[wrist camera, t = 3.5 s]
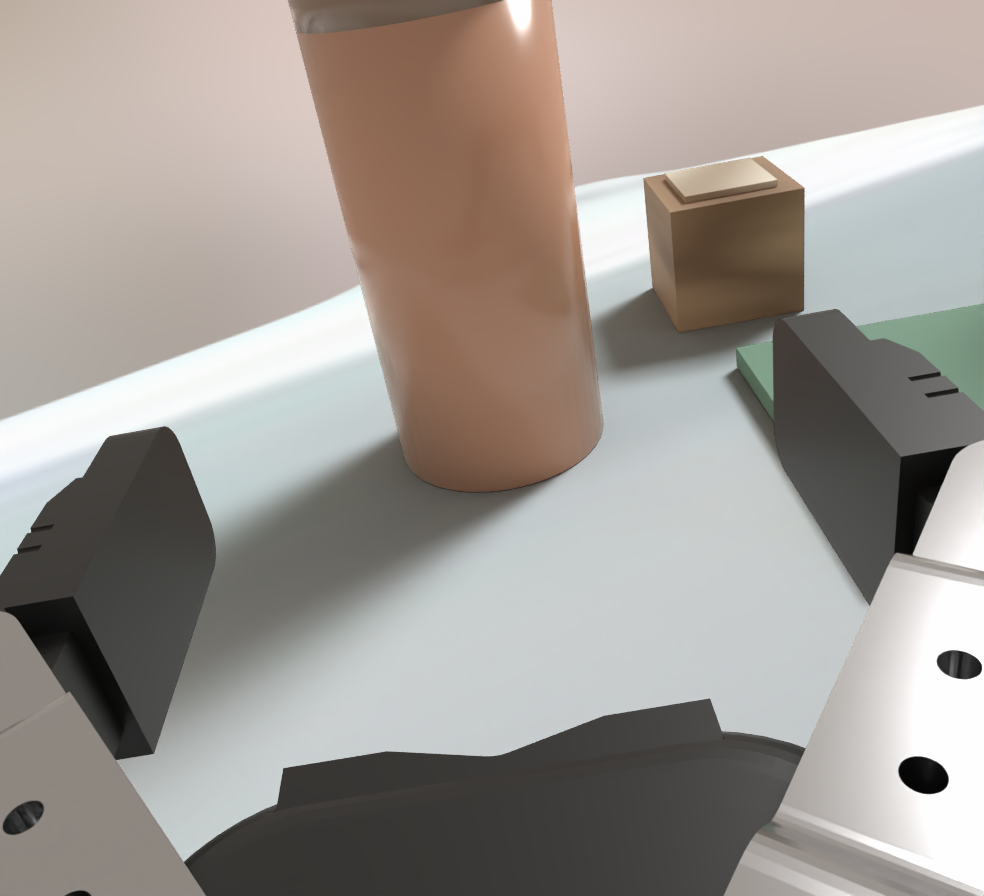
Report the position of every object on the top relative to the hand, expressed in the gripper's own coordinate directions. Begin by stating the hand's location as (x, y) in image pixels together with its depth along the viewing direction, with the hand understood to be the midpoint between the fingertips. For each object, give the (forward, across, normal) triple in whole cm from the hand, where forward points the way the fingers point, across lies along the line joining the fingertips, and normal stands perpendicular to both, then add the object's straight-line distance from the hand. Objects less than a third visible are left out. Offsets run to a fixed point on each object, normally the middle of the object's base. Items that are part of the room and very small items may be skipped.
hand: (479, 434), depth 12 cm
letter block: (+18, -8, +7) cm, 21 cm away
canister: (+12, 0, +7) cm, 13 cm away
